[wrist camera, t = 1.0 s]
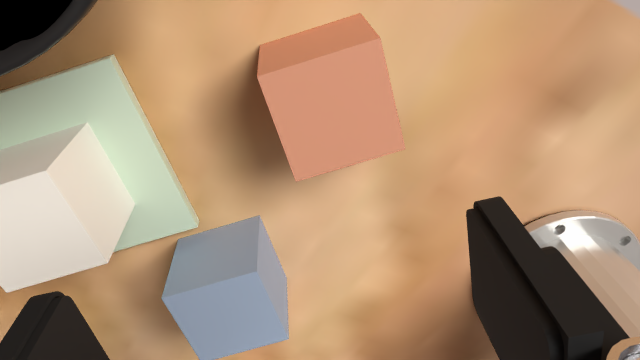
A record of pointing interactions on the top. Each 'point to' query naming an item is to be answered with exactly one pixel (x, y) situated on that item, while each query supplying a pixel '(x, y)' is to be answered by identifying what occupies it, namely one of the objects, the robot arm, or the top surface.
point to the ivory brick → (58, 207)
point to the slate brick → (228, 290)
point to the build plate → (104, 140)
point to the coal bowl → (35, 28)
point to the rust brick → (330, 96)
